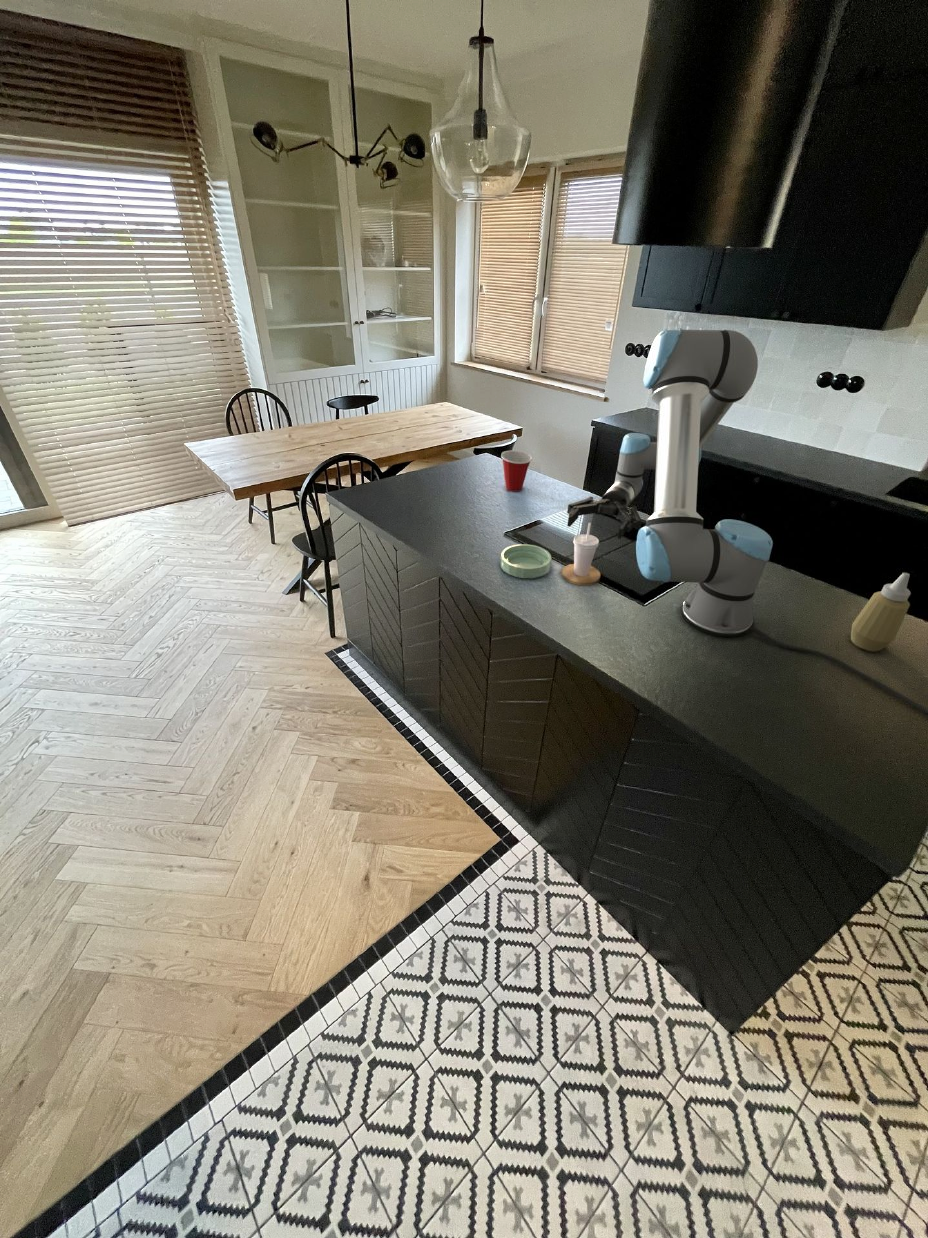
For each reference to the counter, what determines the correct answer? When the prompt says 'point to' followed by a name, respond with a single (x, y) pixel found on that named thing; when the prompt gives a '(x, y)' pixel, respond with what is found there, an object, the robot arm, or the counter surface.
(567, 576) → the coaster
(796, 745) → the counter surface
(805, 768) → the counter surface
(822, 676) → the counter surface
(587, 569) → the smoothie
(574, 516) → the robot arm
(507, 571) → the bowl
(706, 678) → the counter surface
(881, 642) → the squeeze bottle
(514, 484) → the plastic cup
